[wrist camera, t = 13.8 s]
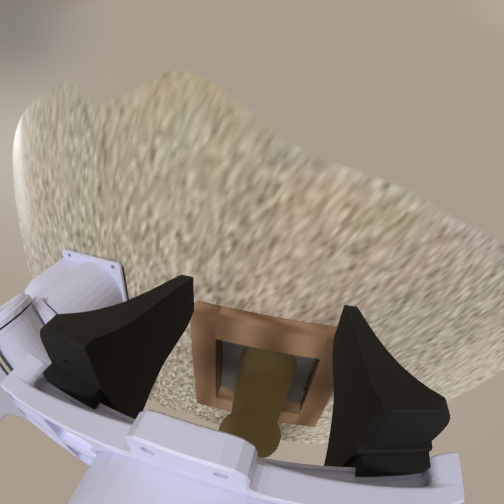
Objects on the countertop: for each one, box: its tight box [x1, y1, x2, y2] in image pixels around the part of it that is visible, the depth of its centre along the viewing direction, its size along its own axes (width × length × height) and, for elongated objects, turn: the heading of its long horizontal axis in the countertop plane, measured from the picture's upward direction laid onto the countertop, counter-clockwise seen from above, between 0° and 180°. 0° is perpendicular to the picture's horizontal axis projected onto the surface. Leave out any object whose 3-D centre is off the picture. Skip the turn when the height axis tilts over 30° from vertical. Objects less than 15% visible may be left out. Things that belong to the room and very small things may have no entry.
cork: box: [219, 346, 297, 458], centre depth 23 cm, size 6×6×11 cm
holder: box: [190, 301, 337, 427], centre depth 28 cm, size 15×15×2 cm
